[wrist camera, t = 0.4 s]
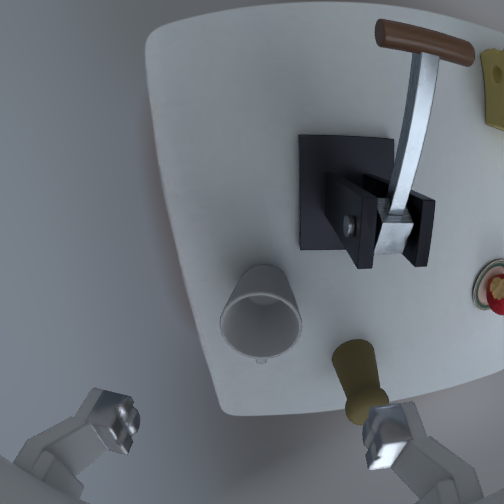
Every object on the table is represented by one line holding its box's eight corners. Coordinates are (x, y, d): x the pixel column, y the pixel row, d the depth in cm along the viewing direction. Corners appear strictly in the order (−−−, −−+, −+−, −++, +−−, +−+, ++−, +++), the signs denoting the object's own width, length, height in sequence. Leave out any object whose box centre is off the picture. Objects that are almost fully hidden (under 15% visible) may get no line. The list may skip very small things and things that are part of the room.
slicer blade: (371, 16, 10) (389, 21, 8) (457, 37, 9) (482, 47, 8) (346, 228, 20) (352, 254, 19) (409, 228, 20) (419, 253, 18)
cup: (298, 256, 33) (305, 292, 25) (294, 330, 37) (297, 377, 29) (230, 255, 34) (216, 290, 26) (233, 328, 37) (223, 374, 30)
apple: (466, 312, 34) (488, 337, 28) (477, 261, 32) (503, 282, 26) (502, 304, 34) (525, 326, 27) (513, 256, 31) (540, 274, 25)
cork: (338, 377, 39) (350, 437, 29) (326, 349, 38) (337, 412, 27) (378, 362, 38) (398, 420, 28) (368, 332, 36) (391, 392, 26)
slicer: (298, 134, 29) (318, 128, 15) (390, 138, 28) (469, 143, 14) (299, 246, 33) (314, 322, 19) (385, 245, 32) (444, 313, 18)
